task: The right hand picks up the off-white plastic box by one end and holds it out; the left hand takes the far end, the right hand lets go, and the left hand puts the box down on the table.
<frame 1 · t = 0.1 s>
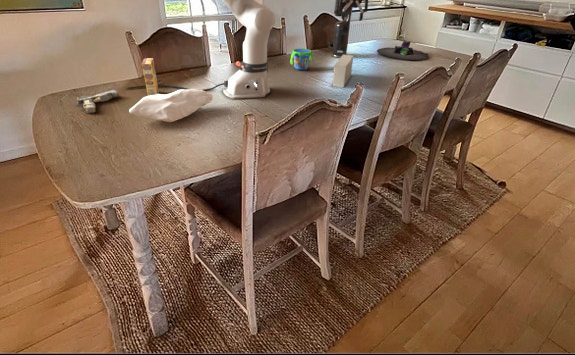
right hand: (351, 20, 185), 29 cm above the table, tool pointing down, fingers open, 8 cm apart
candy box: (153, 94, 167), on the table
box: (342, 80, 195), on the table
snack cup: (301, 69, 211), on the table
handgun: (101, 103, 156), on the table
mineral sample: (402, 54, 249), on the table
crumpled cloth: (172, 113, 149), on the table
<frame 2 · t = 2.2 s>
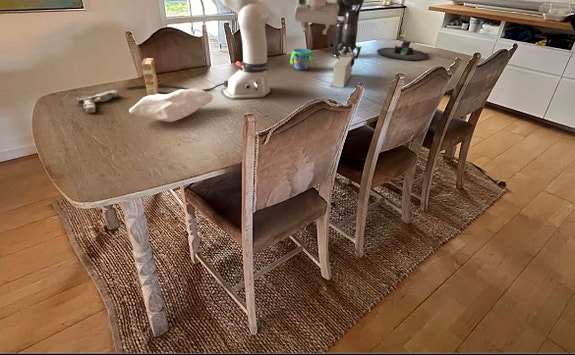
left hand: (314, 33, 171), 26 cm above the table, tool pointing down, fingers open, 8 cm apart
right hand: (345, 65, 198), 6 cm above the table, tool pointing down, fingers closed on box, 5 cm apart
box: (342, 80, 195), on the table, touching right hand
everything else where it was.
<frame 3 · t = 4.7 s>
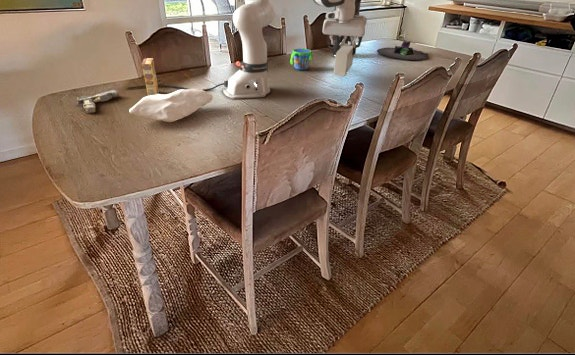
left hand: (342, 44, 179), 20 cm above the table, tool pointing down, fingers open, 8 cm apart
right hand: (347, 54, 195), 12 cm above the table, tool pointing down, fingers closed on box, 5 cm apart
box: (343, 69, 192), point 6 cm above the table, touching right hand
everything else where it was.
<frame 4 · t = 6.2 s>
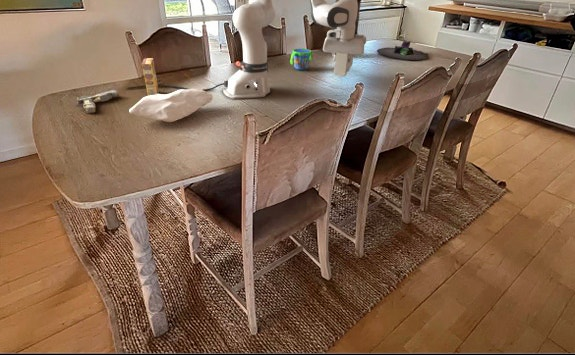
left hand: (342, 62, 184), 11 cm above the table, tool pointing down, fingers closed on box, 6 cm apart
right hand: (347, 54, 195), 12 cm above the table, tool pointing down, fingers closed on box, 5 cm apart
box: (343, 69, 193), point 6 cm above the table, touching left hand, right hand
everything else where it was.
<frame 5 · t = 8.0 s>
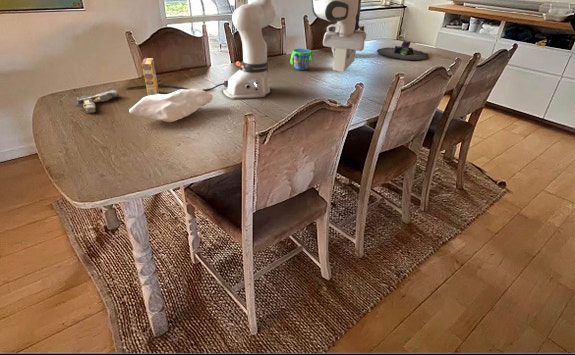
left hand: (341, 57, 183), 14 cm above the table, tool pointing down, fingers closed on box, 6 cm apart
right hand: (348, 45, 194), 16 cm above the table, tool pointing down, fingers open, 8 cm apart
box: (343, 65, 191), point 8 cm above the table, touching left hand
everything else where it was.
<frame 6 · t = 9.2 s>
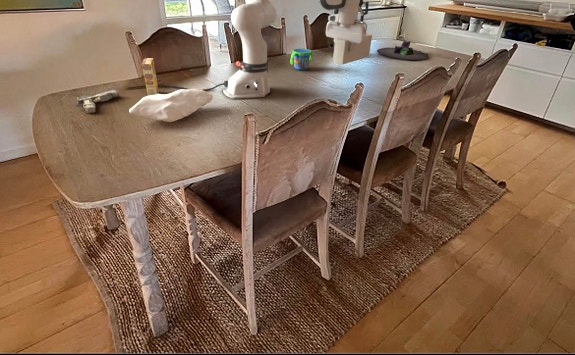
left hand: (343, 49, 172), 19 cm above the table, tool pointing down, fingers closed on box, 6 cm apart
right hand: (352, 22, 191), 27 cm above the table, tool pointing down, fingers open, 8 cm apart
box: (351, 59, 180), point 14 cm above the table, touching left hand
everything else where it was.
when the left hand's fingers open (7 cm above the table, at t = 12.4 s): box stays where it is, on the table.
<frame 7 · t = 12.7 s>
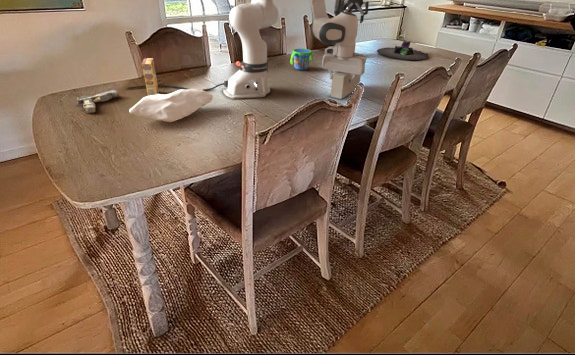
left hand: (341, 81, 172), 7 cm above the table, tool pointing down, fingers open, 8 cm apart
right hand: (352, 22, 191), 27 cm above the table, tool pointing down, fingers open, 8 cm apart
box: (345, 91, 180), on the table
everything else where it was.
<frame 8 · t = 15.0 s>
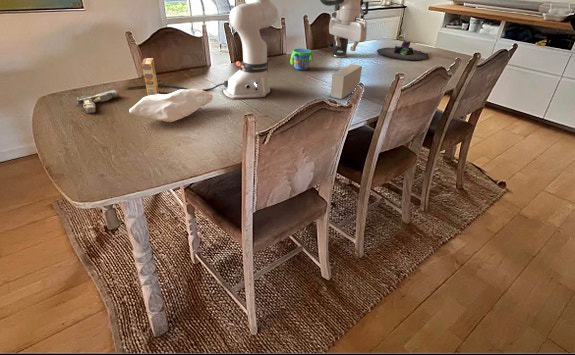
left hand: (345, 48, 164), 22 cm above the table, tool pointing down, fingers open, 8 cm apart
right hand: (352, 22, 191), 27 cm above the table, tool pointing down, fingers open, 8 cm apart
nothing on the table moved.
at the end: box inside the target area (6.8 cm from its centre), on the table; the left hand is holding nothing; the right hand is holding nothing; box at rest at the end (0.0 cm/s) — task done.
